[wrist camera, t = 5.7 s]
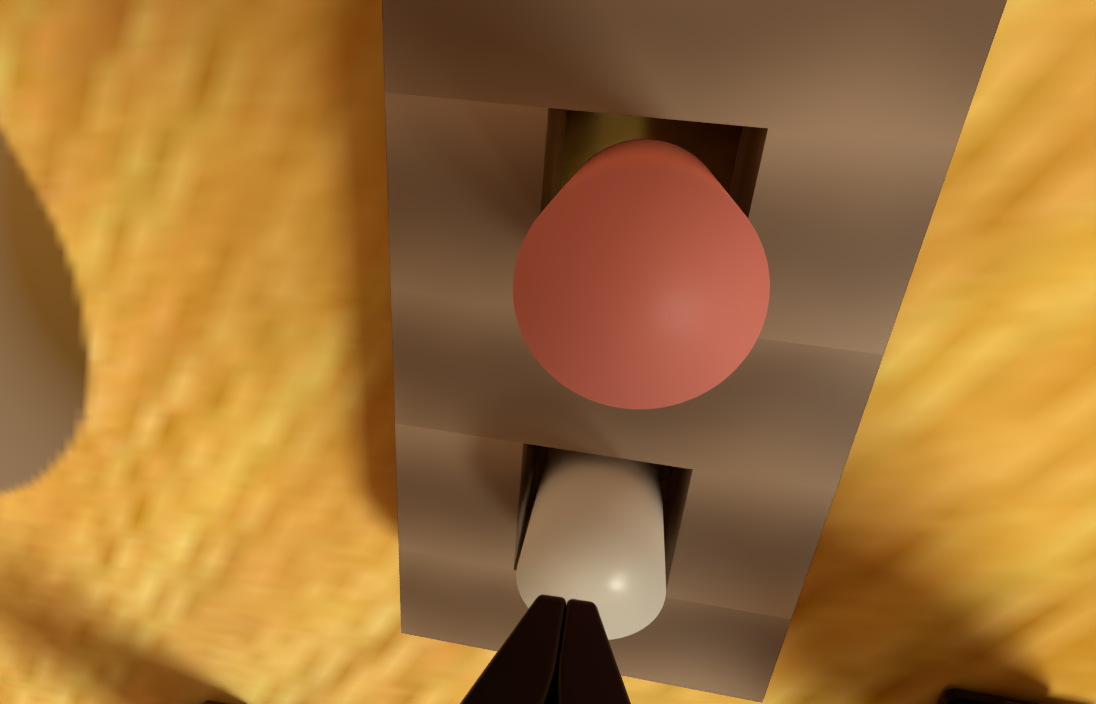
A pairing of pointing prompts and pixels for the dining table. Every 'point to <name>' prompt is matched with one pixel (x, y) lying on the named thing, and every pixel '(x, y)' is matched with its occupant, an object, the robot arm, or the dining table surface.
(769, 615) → the press panel
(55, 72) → the dining table surface
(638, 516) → the grey plunger
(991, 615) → the dining table surface
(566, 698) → the robot arm
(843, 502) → the dining table surface
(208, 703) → the beer bottle
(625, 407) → the red plunger
